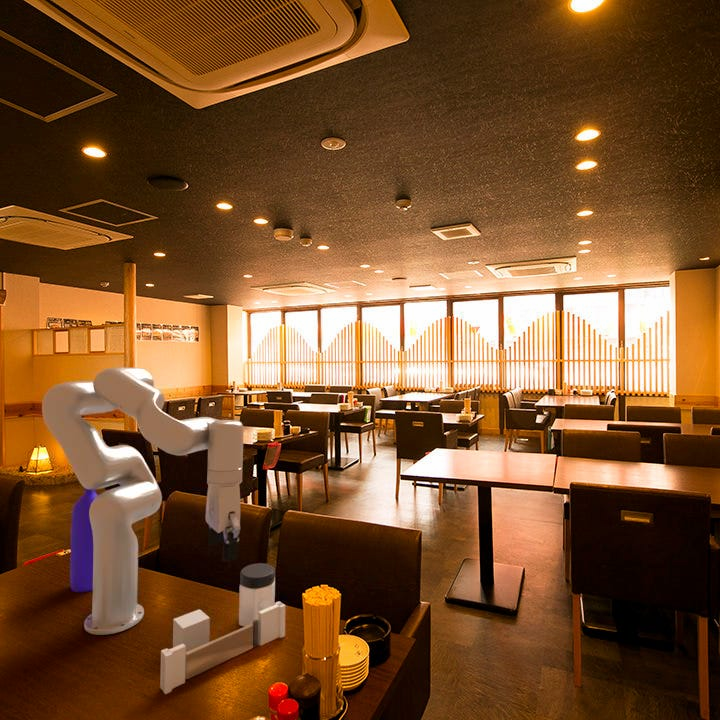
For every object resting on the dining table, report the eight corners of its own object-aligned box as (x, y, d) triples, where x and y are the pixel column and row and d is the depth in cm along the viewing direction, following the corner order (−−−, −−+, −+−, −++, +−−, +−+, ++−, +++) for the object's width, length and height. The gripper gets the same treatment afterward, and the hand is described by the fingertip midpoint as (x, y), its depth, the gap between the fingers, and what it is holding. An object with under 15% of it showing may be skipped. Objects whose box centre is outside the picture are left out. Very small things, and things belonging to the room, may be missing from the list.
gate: (184, 676, 90) (185, 650, 90) (256, 642, 101) (256, 619, 101) (187, 679, 89) (188, 652, 89) (259, 645, 100) (259, 621, 100)
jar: (244, 633, 105) (245, 581, 105) (233, 617, 112) (234, 568, 112) (281, 622, 110) (281, 572, 110) (268, 607, 117) (268, 560, 117)
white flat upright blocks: (160, 687, 87) (161, 650, 87) (278, 631, 106) (279, 601, 106) (165, 694, 85) (166, 656, 85) (284, 636, 104) (285, 605, 104)
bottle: (84, 577, 132) (87, 473, 132) (111, 580, 130) (113, 474, 131) (62, 591, 123) (64, 480, 124) (90, 594, 122) (92, 481, 123)
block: (172, 646, 100) (173, 619, 100) (199, 635, 104) (199, 609, 104) (182, 657, 96) (183, 628, 97) (209, 645, 101) (209, 617, 101)
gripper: (196, 469, 107) (194, 543, 107) (220, 487, 93) (218, 571, 93) (228, 466, 112) (226, 536, 111) (255, 482, 97) (253, 562, 97)
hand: (222, 552), depth 102 cm, fingers open, 9 cm apart
